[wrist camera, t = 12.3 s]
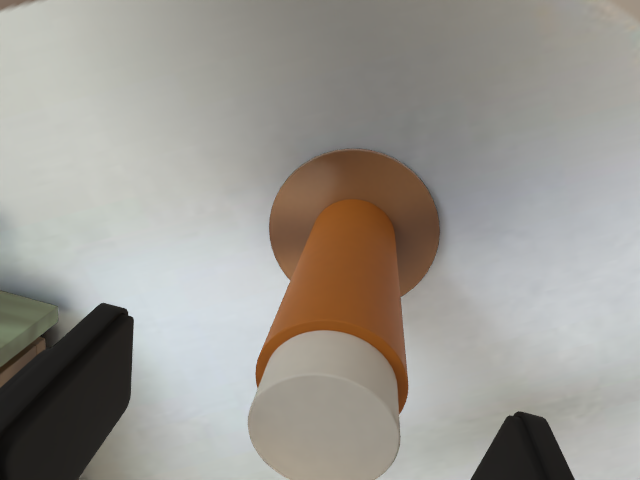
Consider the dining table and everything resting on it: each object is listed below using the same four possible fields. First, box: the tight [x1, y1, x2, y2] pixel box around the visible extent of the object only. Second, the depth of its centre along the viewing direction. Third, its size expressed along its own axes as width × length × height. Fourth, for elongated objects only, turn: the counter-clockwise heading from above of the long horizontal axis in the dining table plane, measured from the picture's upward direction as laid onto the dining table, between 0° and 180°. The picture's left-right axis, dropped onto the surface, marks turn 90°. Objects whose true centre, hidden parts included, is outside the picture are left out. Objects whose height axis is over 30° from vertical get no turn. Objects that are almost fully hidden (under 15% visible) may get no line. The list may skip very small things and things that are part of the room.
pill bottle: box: [248, 199, 408, 480], centre depth 16 cm, size 4×4×13 cm
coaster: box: [269, 149, 440, 297], centre depth 22 cm, size 9×9×1 cm
